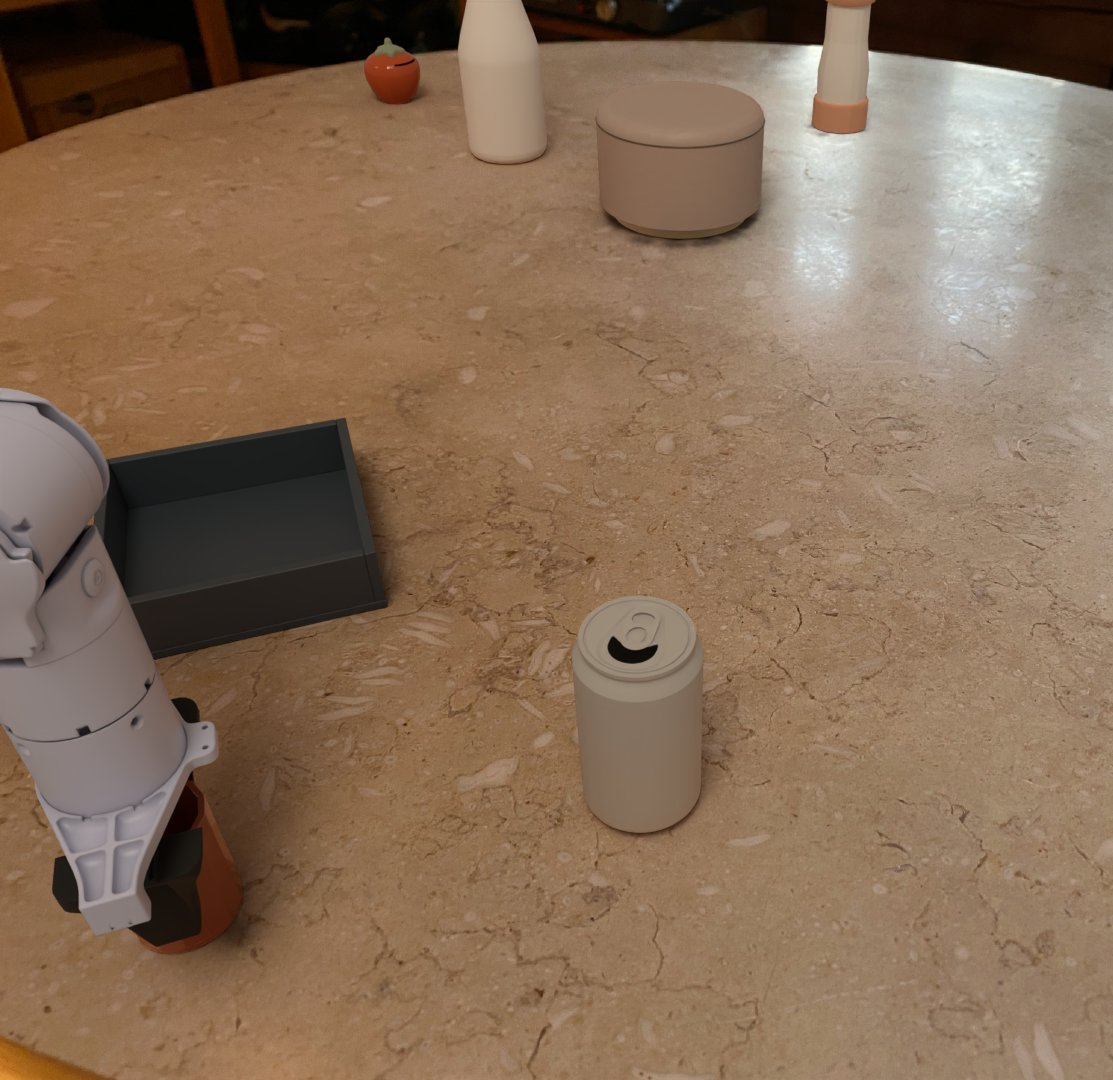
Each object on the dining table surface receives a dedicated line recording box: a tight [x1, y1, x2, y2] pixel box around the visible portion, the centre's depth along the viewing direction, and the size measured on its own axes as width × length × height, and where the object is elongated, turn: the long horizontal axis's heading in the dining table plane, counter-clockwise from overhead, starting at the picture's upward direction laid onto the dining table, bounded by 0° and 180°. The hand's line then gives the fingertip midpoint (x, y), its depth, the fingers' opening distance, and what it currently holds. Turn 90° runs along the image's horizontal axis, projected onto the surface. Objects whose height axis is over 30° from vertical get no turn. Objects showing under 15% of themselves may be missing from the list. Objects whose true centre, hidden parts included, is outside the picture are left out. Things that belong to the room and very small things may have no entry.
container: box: [594, 80, 766, 240], centre depth 118 cm, size 18×18×12 cm
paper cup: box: [132, 780, 244, 955], centre depth 51 cm, size 5×5×7 cm
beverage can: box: [571, 595, 705, 834], centre depth 56 cm, size 6×6×12 cm
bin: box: [92, 417, 389, 660], centre depth 73 cm, size 16×16×5 cm
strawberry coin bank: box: [363, 37, 421, 105], centre depth 148 cm, size 7×7×8 cm
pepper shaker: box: [811, 0, 876, 134], centre depth 140 cm, size 7×7×19 cm
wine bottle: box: [457, 0, 548, 165], centre depth 126 cm, size 10×10×30 cm
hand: (177, 884), depth 52 cm, fingers closed on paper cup, 5 cm apart
